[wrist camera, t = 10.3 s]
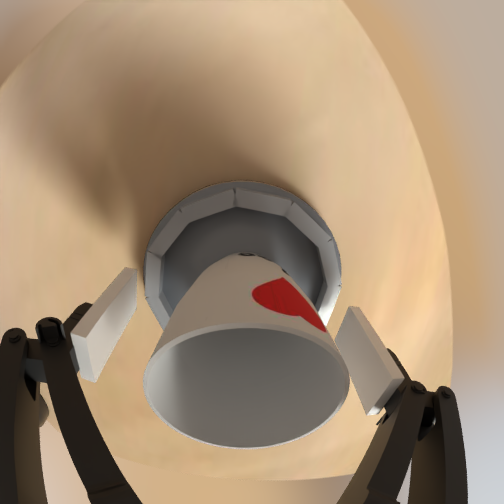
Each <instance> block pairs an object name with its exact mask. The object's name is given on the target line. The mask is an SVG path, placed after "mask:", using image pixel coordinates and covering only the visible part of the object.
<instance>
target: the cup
mask: <svg viewBox="0 0 504 504" xmlns="http://www.w3.org/2000/svg"><path fill="white" fill-rule="evenodd" d="M349 384H350V378H349V372H348V368H347V366H346V364H345V362H344V360H343V358H342V356H341V354H340V352H339V351H338V349H337V347H336V345H335V343H334V341H333V339H332V338H331V336H330V334H329V332H328V330H327V328H326V327H325V325H324V323H323V321H322V319H321V317H320V316H319V314H318V312H317V310H316V308H315V307H314V305H313V303H312V302H311V300H310V299H309V298H308V297H307V296H306V294H305V293H304V292H303V291H302V290H301V288H300V287H299V286H298V285H297V284H296V283H295V281H294V280H293V279H292V278H291V277H290V275H289V274H288V273H287V272H286V271H285V270H284V269H283V268H282V267H280V266H279V265H277V264H276V263H274V262H272V261H270V260H269V259H267V258H265V257H263V256H261V255H259V254H255V253H251V252H238V253H234V254H230V255H228V256H226V257H224V258H222V259H221V260H219V261H217V262H215V263H214V264H212V265H211V266H209V267H208V268H207V269H206V270H205V271H203V273H202V274H201V275H200V276H199V277H198V279H197V280H196V281H195V282H194V284H193V285H192V286H191V287H190V289H189V290H188V291H187V292H186V294H185V295H184V296H183V298H182V299H181V300H180V301H179V303H178V304H177V306H176V308H175V310H174V312H173V314H172V316H171V318H170V320H169V322H168V324H167V325H166V327H165V329H164V332H163V334H162V336H161V338H160V340H159V342H158V344H157V346H156V348H155V350H154V352H153V354H152V356H151V358H150V360H149V362H148V364H147V367H146V369H145V372H144V377H143V388H144V393H145V396H146V399H147V401H148V403H149V405H150V407H151V408H152V410H153V411H154V412H155V414H156V415H157V416H158V417H159V418H160V419H161V420H162V421H163V422H164V423H166V424H167V425H168V426H169V427H171V428H172V429H174V430H175V431H177V432H179V433H180V434H182V435H184V436H186V437H188V438H191V439H193V440H196V441H199V442H202V443H205V444H208V445H212V446H217V447H223V448H231V449H260V448H268V447H274V446H278V445H282V444H286V443H289V442H292V441H295V440H298V439H300V438H302V437H305V436H307V435H309V434H311V433H312V432H314V431H316V430H317V429H319V428H320V427H322V426H323V425H324V424H326V423H327V422H328V421H329V420H330V419H331V418H332V417H333V416H334V415H335V414H336V413H337V412H338V411H339V409H340V408H341V406H342V405H343V403H344V401H345V399H346V397H347V394H348V391H349Z"/></svg>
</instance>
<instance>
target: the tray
mask: <svg viewBox="0 0 504 504" xmlns="http://www.w3.org/2000/svg"><path fill="white" fill-rule="evenodd" d="M238 252H251V253H255V254H259V255H261V256H263V257H265V258H267V259H269V260H270V261H272V262H274V263H276V264H277V265H279V266H280V267H282V268H283V269H284V270H285V271H286V272H287V273H288V274H289V275H290V277H291V278H292V279H293V280H294V281H295V283H296V284H297V285H298V286H299V287H300V288H301V290H302V291H303V292H304V293H305V294H306V296H307V297H308V298H309V299H310V300H311V302H312V303H313V305H314V307H315V308H316V310H317V312H318V314H319V316H320V317H321V319H322V321H323V323H324V325H325V326H326V325H327V323H328V320H329V318H330V315H331V313H332V310H333V308H334V305H335V303H336V300H337V298H338V295H339V292H340V290H341V285H342V283H341V261H340V254H339V251H338V247H337V244H336V241H335V239H334V237H333V235H332V233H331V231H330V229H329V228H328V226H327V225H326V223H325V222H324V220H323V219H322V218H321V217H320V216H319V215H318V213H317V212H316V211H315V210H314V209H312V208H311V207H310V206H309V205H308V204H306V203H305V202H304V201H303V200H302V199H300V198H299V197H297V196H296V195H294V194H292V193H291V192H289V191H287V190H284V189H282V188H280V187H278V186H275V185H271V184H268V183H264V182H258V181H250V180H234V181H227V182H220V183H217V184H213V185H210V186H207V187H205V188H202V189H200V190H198V191H196V192H194V193H192V194H191V195H189V196H187V197H186V198H184V199H183V200H182V201H180V202H179V203H178V204H177V205H176V206H175V207H173V208H172V209H171V210H170V211H169V212H168V213H167V214H166V215H165V216H164V218H163V219H162V220H161V221H160V223H159V224H158V226H157V227H156V229H155V230H154V232H153V234H152V236H151V239H150V241H149V243H148V246H147V250H146V253H145V259H144V267H143V271H144V284H145V296H146V298H145V299H146V300H147V302H148V304H149V306H150V308H151V310H152V311H153V313H154V315H155V317H156V319H157V320H158V322H159V324H160V326H161V327H162V329H163V331H164V329H165V327H166V325H167V324H168V322H169V320H170V318H171V316H172V314H173V312H174V310H175V308H176V306H177V304H178V303H179V301H180V300H181V299H182V298H183V296H184V295H185V294H186V292H187V291H188V290H189V289H190V287H191V286H192V285H193V284H194V282H195V281H196V280H197V279H198V277H199V276H200V275H201V274H202V273H203V271H205V270H206V269H207V268H208V267H209V266H211V265H212V264H214V263H215V262H217V261H219V260H221V259H222V258H224V257H226V256H228V255H230V254H234V253H238Z"/></svg>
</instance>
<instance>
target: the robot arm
mask: <svg viewBox="0 0 504 504" xmlns="http://www.w3.org/2000/svg"><path fill="white" fill-rule="evenodd" d="M136 294H137V270H136V269H132V268H127V267H125V268H124V269H123V270H122V271H121V273H120V274H119V275H118V276H117V277H116V278H115V279H114V281H113V282H112V283H111V284H110V285H109V286H108V287H107V289H106V290H105V291H104V292H103V293H102V294H101V296H100V297H99V298H98V299H97V300H96V302H95V303H94V304H90V303H87V302H85V303H83V304H82V305H80V306H78V307H77V308H76V309H75V310H74V312H73V313H72V314H71V315H70V316H69V318H68V319H67V320H66V321H65V322H64V323H63V324H62V322H61V321H60V320H59V319H57V318H54V317H46V318H43V319H41V320H40V321H38V323H37V324H36V327H35V329H36V333H37V336H38V339H30V338H27V336H26V333H25V331H24V330H22V329H20V328H12V329H9V330H8V331H6V332H5V333H4V335H3V337H2V341H1V344H0V504H48V502H47V497H46V491H45V486H44V479H43V472H42V463H41V452H40V435H39V427H41V426H42V425H43V424H44V423H45V421H46V419H47V417H48V415H49V410H48V407H47V405H46V403H45V401H44V400H43V398H42V397H41V395H40V382H44V383H47V385H48V389H49V393H50V397H51V400H52V404H53V407H54V411H55V414H56V417H57V421H58V424H59V427H60V430H61V432H62V435H63V438H64V440H65V443H66V446H67V449H68V451H69V454H70V456H71V458H72V461H73V463H74V465H75V467H76V470H77V472H78V474H79V476H80V478H81V480H82V482H83V484H84V486H85V488H86V490H87V494H88V498H89V500H90V502H91V504H142V502H141V501H140V500H139V498H138V497H137V495H136V494H135V492H134V491H133V489H132V488H131V486H130V485H129V484H128V482H127V481H126V479H125V478H124V476H123V474H122V473H121V471H120V469H119V468H118V466H117V464H116V463H115V460H114V459H113V457H112V455H111V453H110V451H109V449H108V447H107V445H106V444H105V442H104V440H103V438H102V435H101V433H100V431H99V429H98V427H97V425H96V423H95V420H94V418H93V416H92V414H91V411H90V409H89V406H88V404H87V402H86V399H85V396H84V394H83V391H82V388H81V386H80V383H79V380H78V377H77V373H78V371H80V374H81V378H83V379H86V380H89V381H92V382H94V383H96V381H97V379H98V377H99V375H100V373H101V371H102V369H103V368H104V366H105V364H106V362H107V360H108V358H109V356H110V354H111V353H112V351H113V349H114V347H115V345H116V343H117V342H118V340H119V338H120V336H121V334H122V333H123V331H124V329H125V327H126V326H127V324H128V322H129V321H130V319H131V317H132V315H133V314H134V312H135V310H136ZM335 342H336V345H337V347H338V349H339V351H340V354H341V356H342V358H343V360H344V362H345V364H346V366H347V368H348V372H349V374H350V377H351V379H352V382H353V384H354V386H355V389H356V391H357V393H358V396H359V398H360V401H361V403H362V405H363V408H364V410H365V413H366V415H374V414H379V412H380V411H381V410H382V409H383V407H384V408H385V410H386V413H385V414H384V415H383V416H382V418H381V419H380V420H379V421H378V422H377V424H376V425H378V424H379V423H380V424H379V426H378V429H377V431H376V433H375V435H374V437H373V439H372V442H371V444H370V446H369V448H368V450H367V452H366V454H365V456H364V458H363V460H362V461H361V463H360V465H359V467H358V469H357V471H356V473H355V474H354V476H353V478H352V480H351V481H350V483H349V485H348V486H347V488H346V490H345V491H344V493H343V494H342V496H341V498H340V499H339V501H338V502H337V504H400V502H397V500H396V499H397V496H398V493H399V491H400V489H401V486H402V484H403V481H404V478H405V475H406V473H407V470H408V466H409V464H410V460H411V458H412V463H411V477H410V488H409V497H408V504H468V489H467V470H466V459H465V449H464V442H463V435H462V428H461V423H460V418H459V412H458V407H457V402H456V398H455V394H454V393H453V391H452V390H451V389H450V388H448V387H446V386H440V387H439V388H438V389H437V391H436V392H430V391H427V390H426V388H425V386H424V385H423V384H421V383H420V382H417V381H412V380H411V379H410V377H409V375H408V374H407V372H406V371H405V369H404V367H403V366H402V364H401V363H400V361H399V360H398V358H397V356H396V355H395V354H394V353H393V352H392V351H391V350H390V349H388V348H386V347H385V346H384V344H383V342H382V341H381V339H380V338H379V336H378V335H377V333H376V332H375V330H374V329H373V327H372V326H371V324H370V323H369V321H368V320H367V318H366V317H365V315H364V314H363V312H362V311H361V309H360V308H359V307H353V306H349V307H348V310H347V312H346V315H345V317H344V319H343V322H342V324H341V326H340V329H339V331H338V333H337V335H336V338H335ZM434 423H435V425H434Z"/></svg>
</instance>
